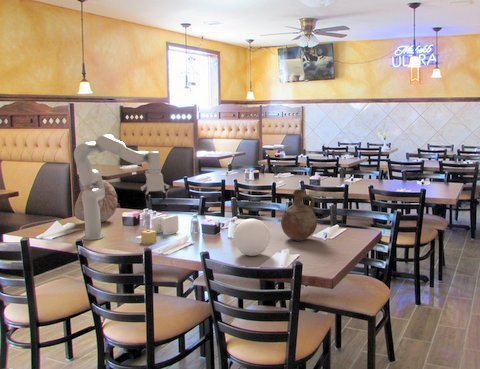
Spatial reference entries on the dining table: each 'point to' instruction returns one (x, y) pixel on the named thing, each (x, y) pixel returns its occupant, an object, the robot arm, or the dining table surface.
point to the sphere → (251, 237)
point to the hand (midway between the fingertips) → (155, 200)
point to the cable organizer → (165, 224)
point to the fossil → (105, 205)
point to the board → (138, 240)
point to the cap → (148, 236)
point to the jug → (299, 217)
